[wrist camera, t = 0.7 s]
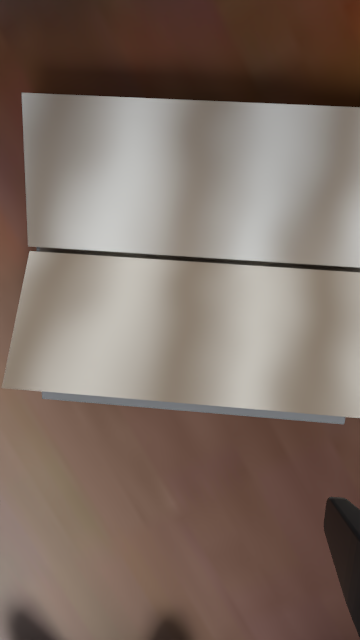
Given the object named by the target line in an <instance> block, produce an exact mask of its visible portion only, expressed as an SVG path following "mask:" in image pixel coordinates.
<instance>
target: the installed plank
mask: <svg viewBox="0 0 360 640" xmlns="http://www.w3.org/2000/svg"><path fill="white" fill-rule="evenodd" d="M22 113H23V137H24V160H25V184H26V207H27V231H28V246H31V247H40V252H52V253H67V254H82V255H98V256H113V257H129V258H144V259H159V260H175V261H190V262H206V263H221V264H236V265H252V266H267V267H282V268H298V269H313V270H329V271H344V272H359V273H360V107H340V106H317V105H294V104H271V103H248V102H225V101H202V100H179V99H156V98H132V97H109V96H86V95H63V94H40V93H22Z"/></svg>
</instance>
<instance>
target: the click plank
mask: <svg viewBox="0 0 360 640" xmlns="http://www.w3.org/2000/svg"><path fill="white" fill-rule="evenodd" d="M2 388H8V389H20V390H32V391H44V392H56V393H68V394H79V395H91V396H103V397H115V398H127V399H139V400H151V401H163V402H175V403H186V404H198V405H210V406H222V407H234V408H246V409H258V410H270V411H282V412H293V413H305V414H317V415H329V416H341V417H353V418H360V273H359V272H344V271H329V270H313V269H298V268H282V267H267V266H252V265H236V264H221V263H206V262H190V261H175V260H159V259H144V258H129V257H113V256H98V255H82V254H67V253H52V252H36V251H30V252H29V256H28V261H27V266H26V271H25V276H24V281H23V286H22V291H21V296H20V301H19V306H18V311H17V315H16V320H15V325H14V330H13V335H12V340H11V345H10V350H9V355H8V360H7V365H6V370H5V374H4V379H3V384H2Z"/></svg>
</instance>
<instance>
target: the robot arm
mask: <svg viewBox="0 0 360 640" xmlns="http://www.w3.org/2000/svg"><path fill="white" fill-rule="evenodd" d="M324 531H325V535H326V538H327V542H328V545H329V548H330V552H331V555H332V558H333V562H334V565H335V568H336V572H337V575H338V578H339V582H340V585H341V588H342V591H343V595H344V598H345V601H346V604H347V607H348V609H349V612H350V615H351V617H352V620H353V622H354V625H355V627H356V630H357V632H358V635H359V637H360V510H359V509H358V508H357V507H356V506H354V505H353V504H352V503H351V502H349V501H348V500H347V499H345V498H340V497H329V498H328V499H327V503H326V510H325V518H324Z"/></svg>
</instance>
